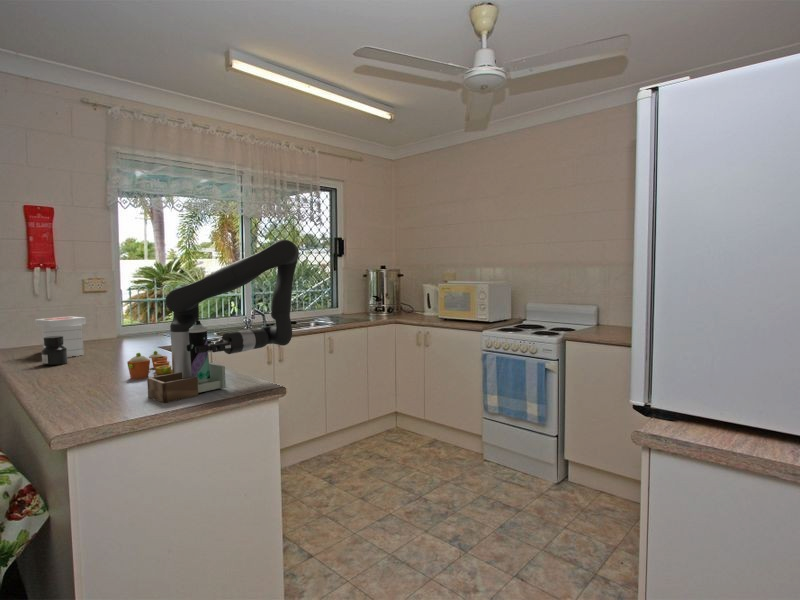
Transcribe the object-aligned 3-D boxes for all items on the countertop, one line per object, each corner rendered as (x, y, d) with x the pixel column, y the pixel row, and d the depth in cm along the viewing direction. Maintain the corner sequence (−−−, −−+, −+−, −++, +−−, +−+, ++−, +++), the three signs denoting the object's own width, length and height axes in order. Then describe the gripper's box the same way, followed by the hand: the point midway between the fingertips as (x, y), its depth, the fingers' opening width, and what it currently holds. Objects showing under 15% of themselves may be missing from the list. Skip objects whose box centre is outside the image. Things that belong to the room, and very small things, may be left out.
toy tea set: (175, 377, 174) (174, 351, 174) (128, 382, 166) (126, 356, 166) (170, 365, 197) (169, 342, 196) (128, 369, 189) (126, 346, 188)
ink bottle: (45, 363, 204) (44, 336, 203) (70, 361, 207) (68, 334, 207) (39, 367, 195) (37, 339, 194) (64, 365, 199) (63, 337, 198)
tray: (178, 388, 153) (176, 367, 152) (208, 382, 161) (207, 362, 160) (194, 394, 145) (193, 372, 145) (225, 387, 153) (224, 366, 153)
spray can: (190, 383, 149) (186, 322, 148) (193, 379, 154) (189, 320, 153) (208, 381, 151) (205, 321, 149) (211, 378, 156) (207, 319, 154)
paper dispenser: (82, 348, 244) (80, 314, 243) (89, 355, 221) (86, 318, 220) (37, 352, 232) (34, 316, 231) (38, 361, 209) (35, 321, 208)
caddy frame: (148, 396, 146) (147, 378, 145) (181, 389, 154) (180, 372, 153) (163, 403, 138) (162, 383, 138) (198, 395, 146) (197, 376, 146)
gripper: (227, 329, 167) (180, 335, 154) (249, 332, 158) (201, 339, 145) (228, 350, 167) (181, 358, 155) (250, 354, 158) (202, 363, 145)
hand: (191, 349), depth 150 cm, fingers closed on spray can, 5 cm apart
